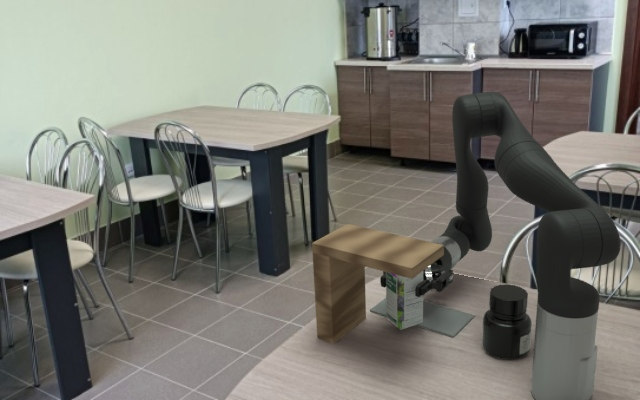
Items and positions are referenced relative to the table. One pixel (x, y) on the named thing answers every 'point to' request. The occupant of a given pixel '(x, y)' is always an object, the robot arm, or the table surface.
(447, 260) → the robot arm
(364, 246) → the shelf
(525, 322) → the ink bottle
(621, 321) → the table surface
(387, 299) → the syrup box
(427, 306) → the mat
